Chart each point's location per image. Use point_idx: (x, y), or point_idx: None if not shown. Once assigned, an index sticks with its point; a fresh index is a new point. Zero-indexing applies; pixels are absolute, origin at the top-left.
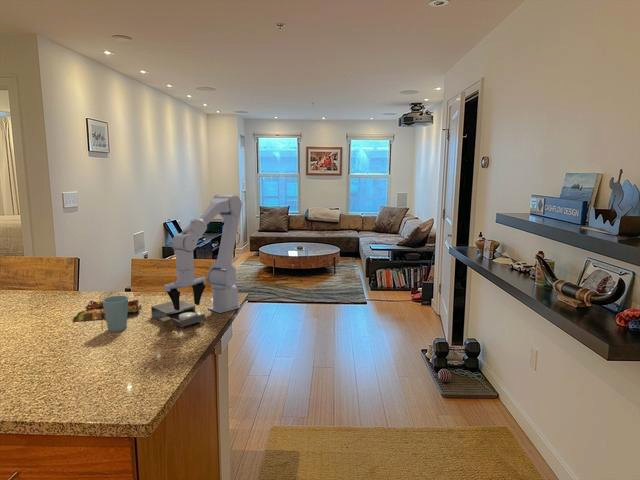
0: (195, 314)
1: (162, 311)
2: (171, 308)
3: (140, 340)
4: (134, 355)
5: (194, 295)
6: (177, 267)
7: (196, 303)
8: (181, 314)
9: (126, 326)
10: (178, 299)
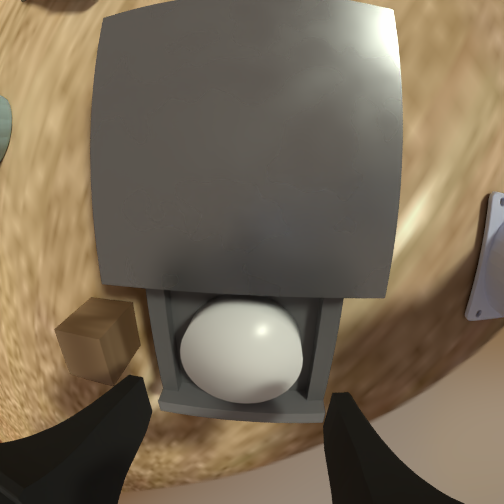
0: (288, 387)
1: (93, 217)
2: (184, 194)
3: (25, 324)
4: (21, 390)
5: (352, 456)
6: None
7: (327, 424)
8: (215, 323)
9: (2, 148)
10: (113, 489)
